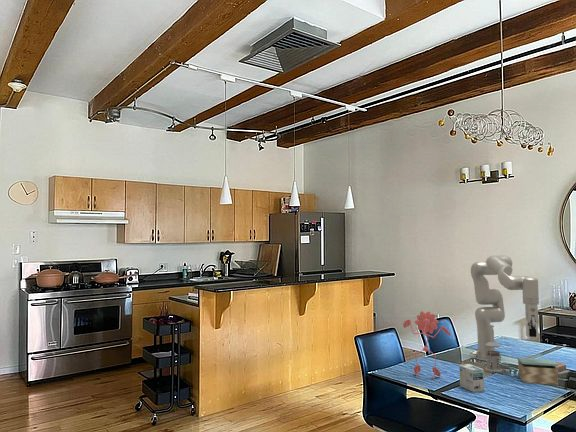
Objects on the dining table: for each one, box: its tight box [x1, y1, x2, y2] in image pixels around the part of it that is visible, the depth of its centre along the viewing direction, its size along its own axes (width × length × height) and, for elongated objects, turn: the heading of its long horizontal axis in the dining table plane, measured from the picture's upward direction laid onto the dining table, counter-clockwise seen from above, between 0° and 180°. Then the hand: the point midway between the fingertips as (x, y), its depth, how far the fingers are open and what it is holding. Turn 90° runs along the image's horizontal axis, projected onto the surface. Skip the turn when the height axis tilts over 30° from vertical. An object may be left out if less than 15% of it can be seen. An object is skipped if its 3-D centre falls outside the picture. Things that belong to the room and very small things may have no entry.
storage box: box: [517, 359, 559, 386], centre depth 240 cm, size 16×14×8 cm
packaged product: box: [554, 361, 571, 376], centre depth 253 cm, size 18×5×10 cm
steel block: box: [525, 323, 539, 339], centre depth 241 cm, size 5×5×6 cm
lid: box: [517, 357, 558, 366], centre depth 240 cm, size 16×14×1 cm
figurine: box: [402, 310, 451, 380], centre depth 251 cm, size 15×26×35 cm, turn 59°
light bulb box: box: [458, 363, 486, 393], centre depth 227 cm, size 11×7×11 cm, turn 17°
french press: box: [483, 324, 504, 373], centre depth 260 cm, size 10×12×25 cm
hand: (531, 335), depth 241 cm, fingers closed on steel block, 5 cm apart
